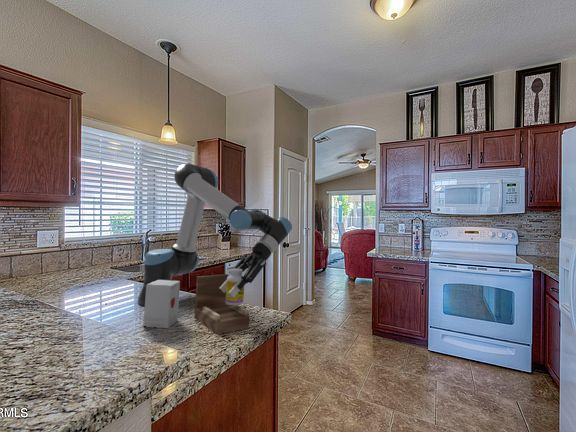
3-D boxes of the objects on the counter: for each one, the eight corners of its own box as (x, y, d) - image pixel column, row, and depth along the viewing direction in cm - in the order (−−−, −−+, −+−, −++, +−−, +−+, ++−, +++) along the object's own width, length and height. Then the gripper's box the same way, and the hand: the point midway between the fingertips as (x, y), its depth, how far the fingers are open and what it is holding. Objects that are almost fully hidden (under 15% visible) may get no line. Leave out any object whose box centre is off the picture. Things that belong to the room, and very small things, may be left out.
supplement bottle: (238, 307, 106) (240, 271, 106) (222, 304, 107) (224, 269, 107) (246, 302, 112) (247, 268, 112) (230, 300, 114) (232, 267, 114)
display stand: (194, 317, 113) (196, 276, 114) (224, 312, 122) (226, 274, 122) (216, 334, 98) (219, 286, 99) (249, 326, 107) (251, 283, 107)
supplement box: (168, 329, 101) (170, 285, 101) (142, 327, 101) (145, 284, 101) (178, 320, 110) (180, 280, 110) (155, 318, 110) (157, 279, 110)
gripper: (284, 257, 112) (246, 305, 101) (256, 251, 127) (220, 293, 117) (274, 243, 109) (233, 292, 98) (246, 239, 124) (208, 281, 113)
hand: (226, 292), depth 107 cm, fingers closed on supplement bottle, 7 cm apart
